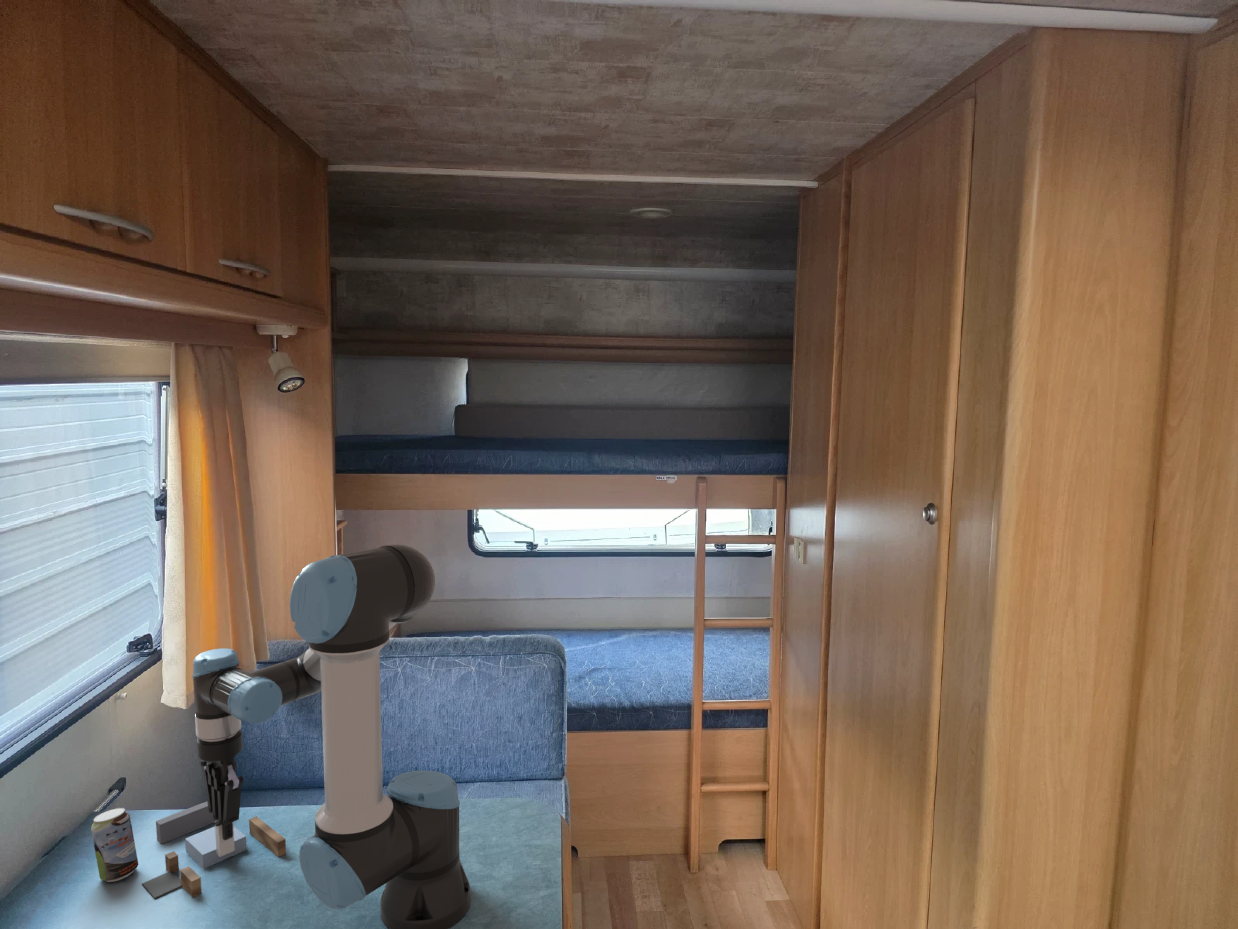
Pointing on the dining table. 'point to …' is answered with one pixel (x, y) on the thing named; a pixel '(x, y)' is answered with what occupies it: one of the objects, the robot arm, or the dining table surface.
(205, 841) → the block
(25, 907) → the dining table surface
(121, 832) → the beverage can
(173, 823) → the end block
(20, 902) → the dining table surface
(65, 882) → the dining table surface
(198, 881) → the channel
